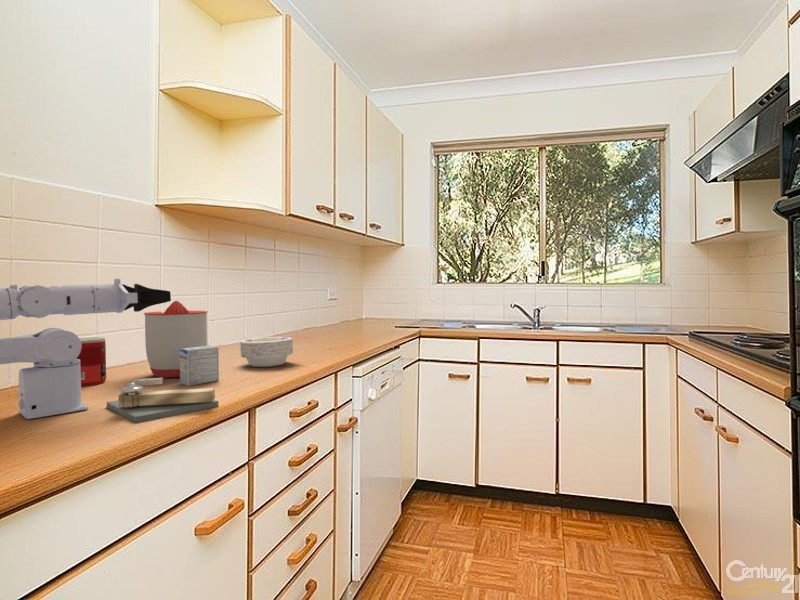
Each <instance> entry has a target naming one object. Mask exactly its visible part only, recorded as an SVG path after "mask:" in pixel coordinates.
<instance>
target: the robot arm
mask: <svg viewBox="0 0 800 600" xmlns="http://www.w3.org/2000/svg"><path fill="white" fill-rule="evenodd" d="M171 295H172V294H171V291H170V290H164V289H157V288H150V287H146V286H144V285H142V284H139V283H134V284H133V287H132V286H128V285H127V284H123V283H121V279H120V278H114V281H113V284H111V283H109V284H75V285H74V284H72V285H71V284H69V285H65V284H63V285H62V286H60V287H59V285H57V286H56V285H52V286H49V287H47V286H44V285H38V284H36V285H30V286H29V285H24V286H20V288H19V286H18V284H10V285H9V287H0V321H6V320H8V321H9V320H15V319H16V318H17V317H19V316H22V317H25V318H36V319H43V318H45V317H47V316H49V315H64V316H72V315H73V316H74V315H87V314H89V315H90V314H91V315H92V314H104V313H105V314H107V313H116V314H121V313H123V312H124V311H127V310H128V309H129V310H130V309H131V308H133V312H136V313H138V312H141V311H143V310H144V309H147V308H149V307H151V306H156V305H160V304H165V303H169V302H171V301H172V298H171ZM79 338H80V337H79V336H78V335H77V334H76V333H74V332H73V331H69V330H64V329H62V328H58V327H49V328H45V329H42V330H41V331H39V332H36V333H34V334H32V333H31V334H22V335H19V336H11V337H10V336H9V337H0V365H6V364H7V365H8V364H14V363H15V364H16V363H33V366H31V367H24V368H20V370H19V372H18V408H19V409H18V412H19V414H20V415H22V416H23V417H24V418H25V419H26V420H33V419H37V418H43V417H44V418H45V417H50V416H56V415H62V414H67V413H74V412H80V411H86V410H88V409H89V406H88V405H86V404H84V403H83V402H82V386H81V371H80V360H79V359H76V358H77V357H78V355H79V354H80V352H81V348H82V344H81V341H80V339H79Z"/></svg>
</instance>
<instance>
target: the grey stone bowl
mask: <svg viewBox="0 0 800 600" xmlns="http://www.w3.org/2000/svg"><path fill="white" fill-rule="evenodd" d="M293 341H294V340H293V338H292V337H288V336H268V337H267V336H264V337H263V336H262V337H254V338H247V339H242V340H240V344H239V345H240V347H239V348H240V357H241V358H244V359H246V361H247V363H248V365H249V366H251V367H254V368H272V367H278V366H282V365H284V364H285V363H286V361H287V358H288V356H290V355H293V353H294V351H293V350H294V346H293Z"/></svg>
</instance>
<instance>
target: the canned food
mask: <svg viewBox="0 0 800 600" xmlns="http://www.w3.org/2000/svg"><path fill="white" fill-rule="evenodd" d="M79 339H80V341H81V344H82V348H81V352H80V354H79V355H78V357H77V358H76V359H79V360H80V371H81V387H90V386H96V385H97V386H98V385H101V384H104V383H105V382H106V381H107V349H106V345H107V343H106V338H105V337H79Z"/></svg>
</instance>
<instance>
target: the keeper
mask: <svg viewBox="0 0 800 600" xmlns="http://www.w3.org/2000/svg"><path fill="white" fill-rule="evenodd" d="M132 383H135V386H142V391H141V392H144V386H152V385H153V386H154V385H155V386H156V385H163V383H164V378H162V377H152V378H150V377H149V378H136V379H135V378H134V379H133V380H132Z"/></svg>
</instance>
